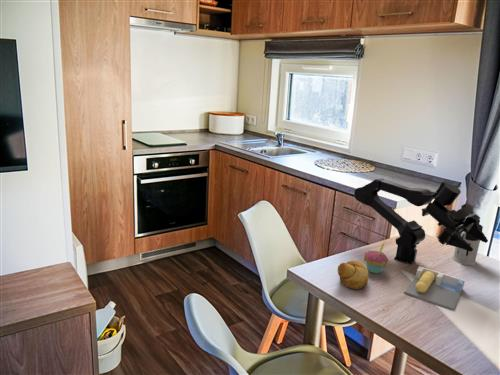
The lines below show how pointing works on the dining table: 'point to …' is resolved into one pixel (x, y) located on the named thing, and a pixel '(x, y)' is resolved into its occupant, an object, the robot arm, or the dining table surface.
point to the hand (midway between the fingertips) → (480, 246)
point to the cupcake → (375, 260)
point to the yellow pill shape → (425, 282)
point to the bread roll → (353, 274)
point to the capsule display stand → (438, 289)
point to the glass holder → (464, 255)
